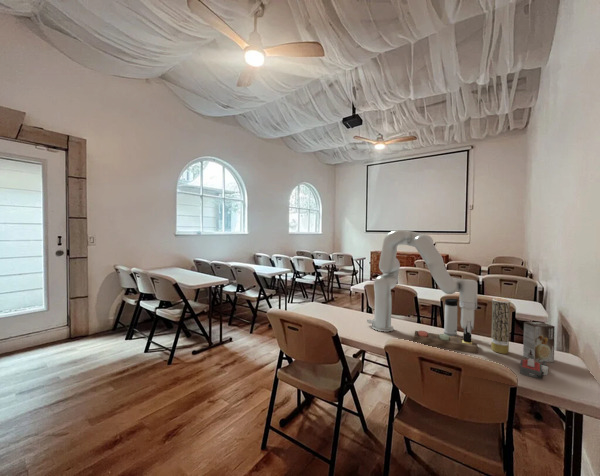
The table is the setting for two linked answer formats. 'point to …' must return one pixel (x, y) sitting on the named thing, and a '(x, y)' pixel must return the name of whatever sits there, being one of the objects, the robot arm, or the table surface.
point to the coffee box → (539, 341)
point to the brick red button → (422, 333)
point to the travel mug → (450, 317)
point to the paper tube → (500, 325)
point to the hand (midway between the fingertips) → (467, 341)
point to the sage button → (444, 337)
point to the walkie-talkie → (533, 368)
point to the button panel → (446, 342)
